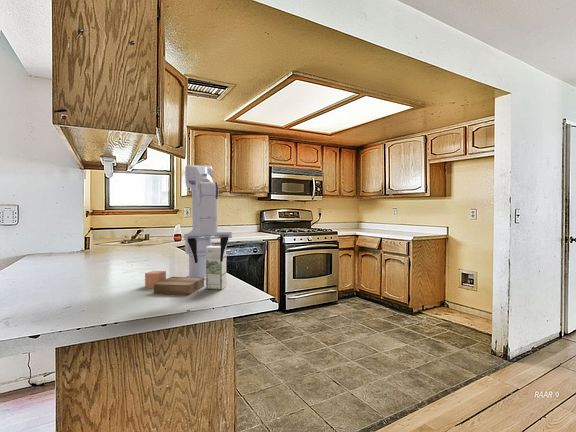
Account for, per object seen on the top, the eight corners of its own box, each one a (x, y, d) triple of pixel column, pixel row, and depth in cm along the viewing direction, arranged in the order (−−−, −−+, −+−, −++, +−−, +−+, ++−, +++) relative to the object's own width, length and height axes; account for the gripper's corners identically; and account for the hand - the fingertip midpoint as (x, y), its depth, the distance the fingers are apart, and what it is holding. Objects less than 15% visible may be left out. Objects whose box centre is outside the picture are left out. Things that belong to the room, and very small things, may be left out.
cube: (153, 284, 120) (152, 270, 120) (166, 284, 120) (165, 271, 119) (145, 287, 115) (145, 273, 115) (158, 288, 115) (158, 273, 114)
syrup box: (227, 286, 117) (226, 244, 117) (222, 290, 112) (221, 246, 111) (211, 285, 118) (211, 244, 118) (205, 289, 112) (205, 246, 112)
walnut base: (171, 285, 119) (171, 276, 119) (204, 286, 117) (204, 277, 117) (153, 293, 107) (153, 284, 107) (189, 294, 105) (189, 285, 105)
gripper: (182, 218, 100) (183, 263, 99) (231, 217, 103) (232, 261, 102) (185, 220, 107) (185, 263, 106) (230, 219, 110) (232, 260, 109)
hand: (208, 262), depth 104 cm, fingers open, 7 cm apart
